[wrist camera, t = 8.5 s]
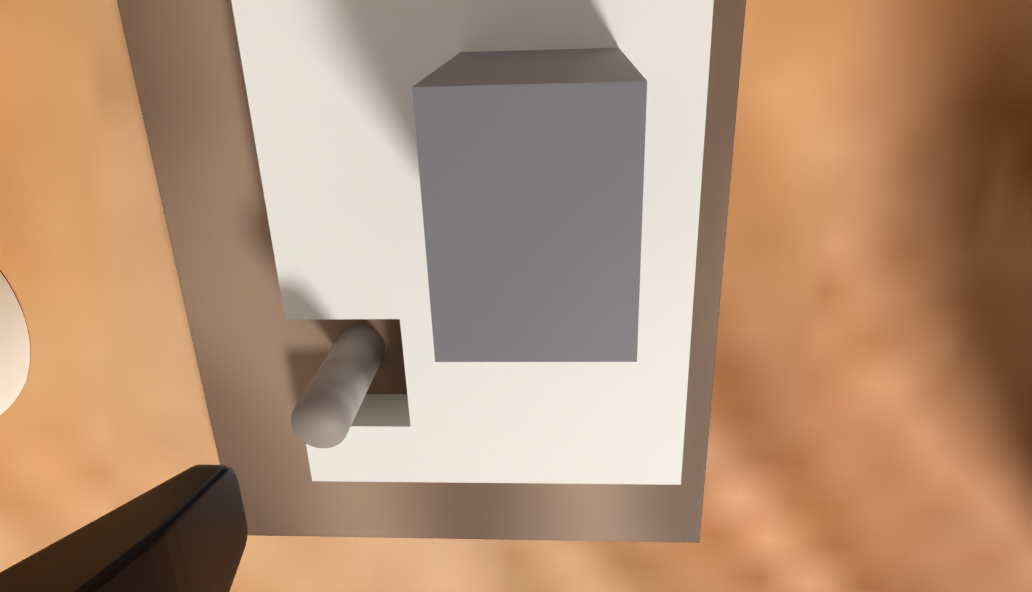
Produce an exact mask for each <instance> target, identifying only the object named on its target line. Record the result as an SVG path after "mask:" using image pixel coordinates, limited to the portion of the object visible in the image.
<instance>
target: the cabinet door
mask: <svg viewBox="0 0 1032 592" xmlns="http://www.w3.org/2000/svg"><path fill="white" fill-rule="evenodd" d="M231 2H232V8H233V14H234V20H235V26H236V32H237V38H238V44H239V50H240V56H241V61H242V67H243V73H244V79H245V85H246V91H247V97H248V103H249V109H250V115H251V121H252V127H253V133H254V139H255V145H256V151H257V156H258V162H259V168H260V174H261V180H262V186H263V192H264V198H265V204H266V210H267V216H268V222H269V228H270V234H271V240H272V246H273V251H274V257H275V263H276V269H277V275H278V281H279V287H280V293H281V299H282V305H283V311H284V317H285V320H315V319H400V327H401V337H402V347H403V356H404V366H405V376H406V386H407V394H366V395H365V397H364V399H363V401H362V403H361V406H360V408H359V410H358V412H357V414H356V416H355V418H354V420H353V423H352V425H351V427H350V429H349V431H348V433H347V435H346V437H345V439H344V440H343V441H342V442H341V443H340V444H338V445H336V446H334V447H331V448H316V447H312V446H310V445H308V444H306V447H307V453H308V459H309V465H310V471H311V477H312V481H340V482H445V483H549V484H653V485H681V475H682V461H683V446H684V431H685V417H686V402H687V387H688V372H689V358H690V343H691V328H692V314H693V299H694V284H695V269H696V255H697V240H698V225H699V211H700V196H701V181H702V166H703V152H704V137H705V122H706V107H707V93H708V78H709V63H710V49H711V34H712V19H713V4H714V0H231Z"/></svg>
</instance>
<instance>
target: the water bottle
mask: <svg viewBox="0 0 1032 592" xmlns="http://www.w3.org/2000/svg"><path fill="white" fill-rule="evenodd" d="M29 364H30V342H29V335H28V330H27V325H26V322H25V318H24V315H23V313H22V310H21V307H20V305H19V303H18V300H17V298H16V296H15V294H14V293H13V291H12V289H11V287H10V285H9V284H8V282H7V281H6V279H5V278H4V276H3V275H2V273H1V272H0V415H1V414H2V413H3V412H4V411H6V410H7V409H8V408H9V407H10V406H11V405H12V403H13V402H14V401H15V400H16V398H17V397H18V395H19V394H20V392H21V390H22V388H23V387H24V385H25V383H26V380H27V375H28V370H29Z"/></svg>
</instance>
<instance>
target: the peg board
mask: <svg viewBox="0 0 1032 592" xmlns="http://www.w3.org/2000/svg"><path fill="white" fill-rule="evenodd" d="M117 2H118V7H119V11H120V16H121V20H122V25H123V29H124V34H125V38H126V43H127V47H128V52H129V56H130V61H131V65H132V70H133V74H134V79H135V83H136V88H137V92H138V97H139V101H140V106H141V110H142V115H143V119H144V124H145V128H146V133H147V137H148V142H149V146H150V151H151V155H152V160H153V164H154V169H155V173H156V178H157V182H158V187H159V191H160V196H161V200H162V205H163V209H164V214H165V218H166V223H167V227H168V232H169V236H170V241H171V245H172V250H173V254H174V259H175V263H176V268H177V272H178V277H179V281H180V286H181V291H182V295H183V300H184V304H185V309H186V313H187V318H188V322H189V327H190V331H191V336H192V340H193V345H194V349H195V354H196V358H197V363H198V367H199V372H200V376H201V381H202V385H203V390H204V394H205V399H206V403H207V408H208V412H209V417H210V421H211V426H212V430H213V435H214V439H215V444H216V448H217V453H218V457H219V462H220V465H228V466H230V467H232V468H233V469H235V471H236V473H237V476H238V479H239V484H240V489H241V494H242V499H243V504H244V509H245V514H246V519H247V525H248V534H247V535H265V536H326V537H386V538H447V539H508V540H568V541H629V542H689V543H699V540H700V528H701V516H702V505H703V493H704V482H705V470H706V458H707V447H708V435H709V424H710V412H711V400H712V389H713V377H714V365H715V354H716V342H717V331H718V319H719V307H720V296H721V284H722V273H723V261H724V249H725V238H726V226H727V215H728V203H729V191H730V180H731V168H732V157H733V145H734V133H735V122H736V110H737V98H738V87H739V75H740V64H741V52H742V40H743V29H744V17H745V6H746V0H714V4H713V19H712V34H711V49H710V63H709V78H708V93H707V107H706V122H705V137H704V152H703V166H702V181H701V196H700V211H699V225H698V240H697V255H696V269H695V284H694V299H693V314H692V328H691V343H690V358H689V372H688V387H687V402H686V417H685V431H684V446H683V461H682V475H681V485H653V484H549V483H445V482H340V481H312V477H311V471H310V465H309V459H308V453H307V447H306V444H308V445H310V446H312V447H316V448H331V447H334V446H336V445H338V444H340V443H341V442H342V441H343V440H344V439H345V437H346V435H347V433H348V431H349V429H350V427H351V425H352V423H353V420H354V418H355V416H356V414H357V412H358V410H359V408H360V406H361V403H362V401H363V399H364V397H365V395H366V394H407V386H406V376H405V366H404V356H403V347H402V337H401V327H400V319H315V320H285V317H284V311H283V305H282V299H281V293H280V287H279V281H278V275H277V269H276V263H275V257H274V251H273V246H272V240H271V234H270V228H269V222H268V216H267V210H266V204H265V198H264V192H263V186H262V180H261V174H260V168H259V162H258V156H257V151H256V145H255V139H254V133H253V127H252V121H251V115H250V109H249V103H248V97H247V91H246V85H245V79H244V73H243V67H242V61H241V56H240V50H239V44H238V38H237V32H236V26H235V20H234V14H233V8H232V2H231V0H117Z"/></svg>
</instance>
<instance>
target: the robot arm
mask: <svg viewBox="0 0 1032 592" xmlns="http://www.w3.org/2000/svg"><path fill="white" fill-rule="evenodd" d="M247 534H248V525H247V519H246V514H245V509H244V504H243V499H242V494H241V489H240V484H239V479H238V476H237V473H236V471H235V469H233V468H232V467H230V466H228V465H195V466H193V467H191V468H189V469H187V470H185V471H184V472H182V473H180V474H178V475H176V476H175V477H173V478H171V479H169V480H167V481H165V482H164V483H162V484H160V485H158V486H156V487H155V488H153V489H151V490H149V491H147V492H146V493H144V494H142V495H140V496H138V497H136V498H135V499H133V500H131V501H129V502H127V503H126V504H124V505H122V506H120V507H118V508H116V509H115V510H113V511H111V512H109V513H107V514H106V515H104V516H102V517H100V518H98V519H97V520H95V521H93V522H91V523H89V524H87V525H86V526H84V527H82V528H80V529H78V530H77V531H75V532H73V533H71V534H69V535H68V536H66V537H64V538H62V539H60V540H58V541H57V542H55V543H53V544H51V545H49V546H48V547H46V548H44V549H42V550H40V551H38V552H37V553H35V554H33V555H31V556H29V557H28V558H26V559H24V560H22V561H20V562H19V563H17V564H15V565H13V566H11V567H9V568H8V569H6V570H4V571H2V572H0V592H230V589H231V586H232V583H233V580H234V577H235V574H236V572H237V569H238V566H239V563H240V560H241V557H242V554H243V552H244V549H245V545H246V541H247Z"/></svg>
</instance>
